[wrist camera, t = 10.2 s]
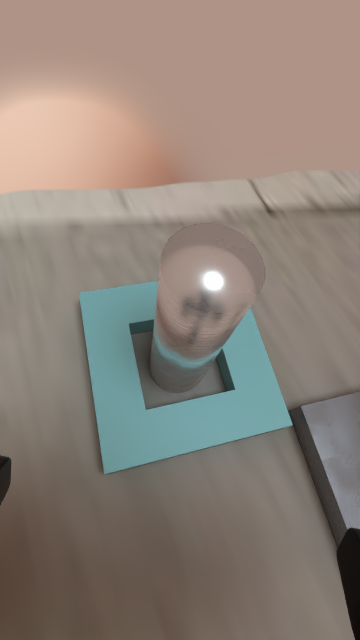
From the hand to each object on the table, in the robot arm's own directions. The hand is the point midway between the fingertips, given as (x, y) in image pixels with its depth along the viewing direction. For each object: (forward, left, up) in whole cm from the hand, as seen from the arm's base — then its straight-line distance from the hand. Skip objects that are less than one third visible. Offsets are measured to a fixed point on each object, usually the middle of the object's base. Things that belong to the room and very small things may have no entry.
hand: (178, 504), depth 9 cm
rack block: (+3, +7, -13) cm, 16 cm away
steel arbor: (+3, +7, -13) cm, 16 cm away
